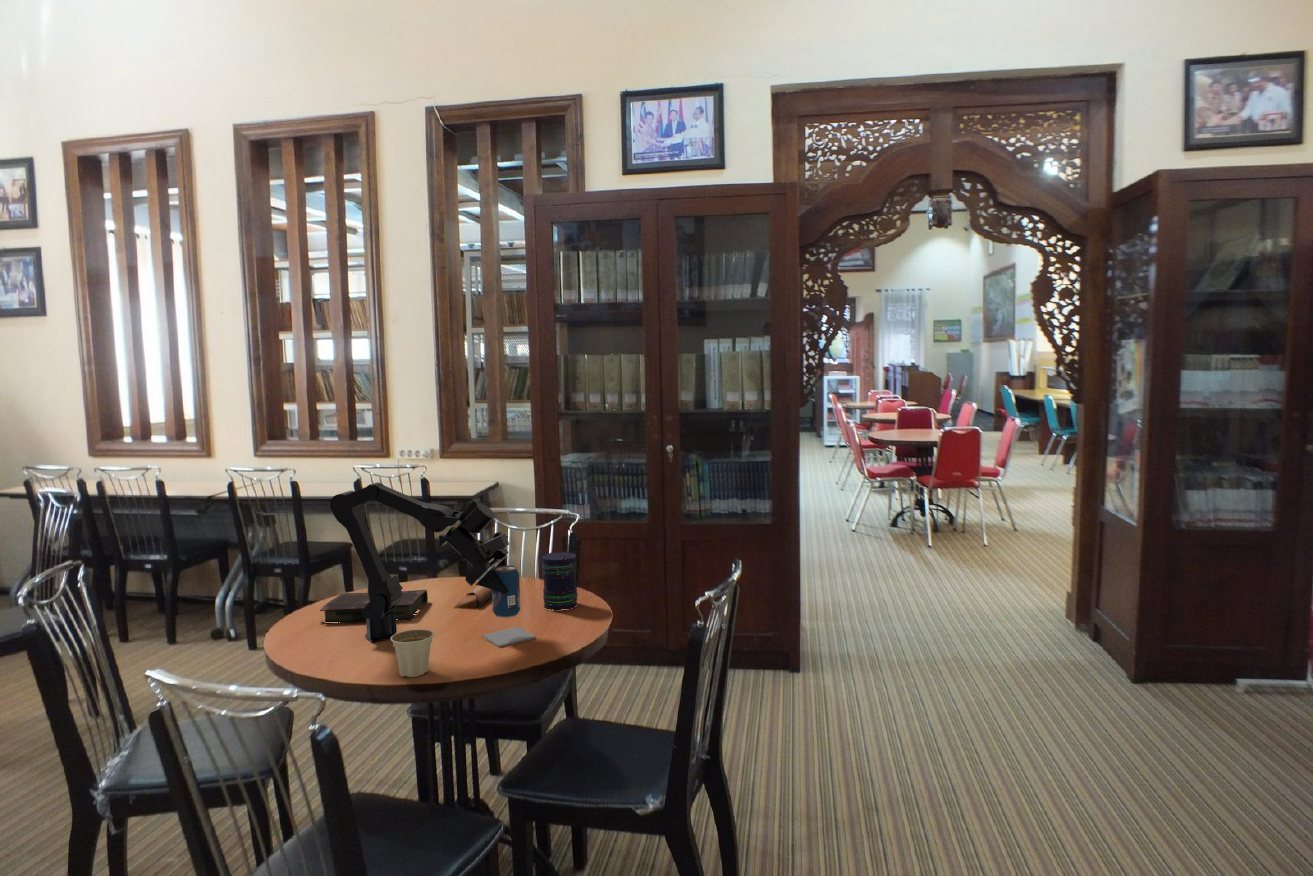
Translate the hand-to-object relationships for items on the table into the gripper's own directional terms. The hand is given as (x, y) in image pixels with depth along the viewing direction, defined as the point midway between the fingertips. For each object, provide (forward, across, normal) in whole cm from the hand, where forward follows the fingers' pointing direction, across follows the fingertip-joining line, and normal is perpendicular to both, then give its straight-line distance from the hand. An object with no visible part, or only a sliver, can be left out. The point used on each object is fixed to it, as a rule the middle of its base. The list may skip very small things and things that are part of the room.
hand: (511, 588), depth 194 cm
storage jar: (+14, +27, +5) cm, 31 cm away
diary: (-23, +20, +43) cm, 53 cm away
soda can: (+4, 0, +6) cm, 7 cm away
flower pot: (-2, -24, +21) cm, 31 cm away
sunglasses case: (-5, +34, +24) cm, 42 cm away
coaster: (+8, 0, +10) cm, 13 cm away
